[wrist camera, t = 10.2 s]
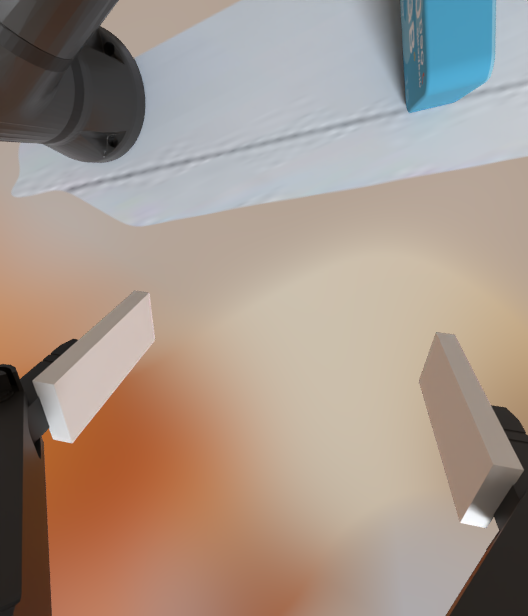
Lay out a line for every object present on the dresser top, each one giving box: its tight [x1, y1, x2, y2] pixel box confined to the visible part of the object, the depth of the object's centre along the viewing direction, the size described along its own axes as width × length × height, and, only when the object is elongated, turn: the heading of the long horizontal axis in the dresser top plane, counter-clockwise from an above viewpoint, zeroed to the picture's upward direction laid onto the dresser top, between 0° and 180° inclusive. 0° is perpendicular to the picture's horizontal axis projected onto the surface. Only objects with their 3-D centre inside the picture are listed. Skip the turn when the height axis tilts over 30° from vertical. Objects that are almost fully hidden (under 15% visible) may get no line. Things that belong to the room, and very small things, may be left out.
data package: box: [400, 0, 496, 113], centre depth 30 cm, size 12×4×12 cm, turn 12°
